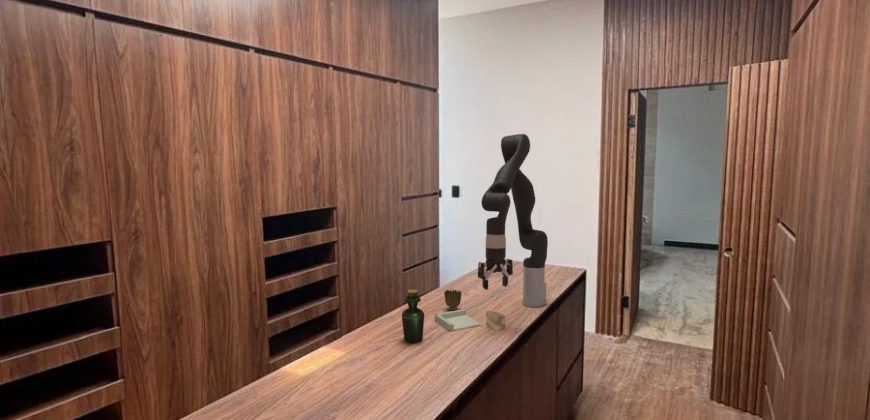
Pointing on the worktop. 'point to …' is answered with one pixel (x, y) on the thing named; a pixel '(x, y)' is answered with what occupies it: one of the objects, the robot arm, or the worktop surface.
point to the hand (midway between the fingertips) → (495, 287)
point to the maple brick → (495, 320)
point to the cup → (452, 299)
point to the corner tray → (455, 320)
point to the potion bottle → (413, 319)
